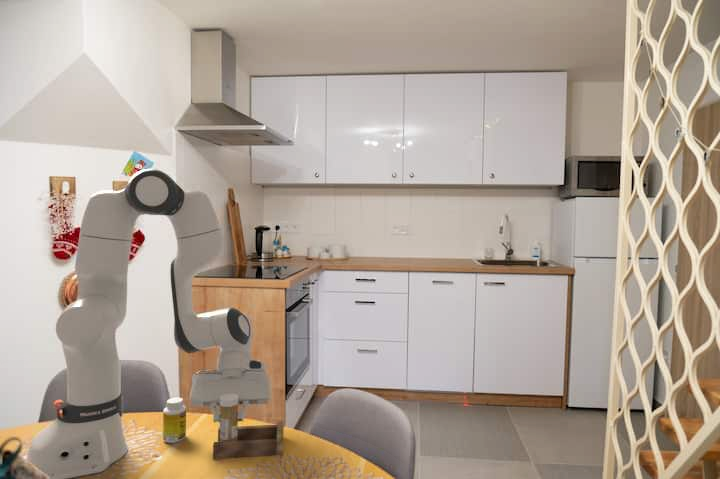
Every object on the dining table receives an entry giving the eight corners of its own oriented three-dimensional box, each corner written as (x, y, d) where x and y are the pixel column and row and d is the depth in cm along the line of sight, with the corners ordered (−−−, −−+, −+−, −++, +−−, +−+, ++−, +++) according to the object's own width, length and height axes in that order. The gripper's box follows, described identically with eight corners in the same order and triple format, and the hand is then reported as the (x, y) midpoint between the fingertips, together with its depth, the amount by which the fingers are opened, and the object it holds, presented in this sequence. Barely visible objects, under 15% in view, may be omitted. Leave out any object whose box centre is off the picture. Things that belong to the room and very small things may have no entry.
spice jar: (240, 450, 114) (241, 397, 114) (222, 455, 112) (222, 400, 111) (234, 442, 118) (235, 391, 117) (216, 447, 115) (217, 394, 115)
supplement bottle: (182, 443, 117) (182, 404, 117) (159, 444, 116) (160, 404, 116) (188, 433, 122) (188, 396, 122) (167, 434, 122) (167, 396, 122)
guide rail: (213, 459, 110) (213, 440, 109) (218, 440, 119) (219, 423, 119) (283, 455, 112) (283, 437, 112) (283, 437, 122) (283, 420, 121)
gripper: (191, 365, 119) (182, 417, 110) (271, 363, 122) (269, 414, 113) (194, 376, 124) (186, 427, 114) (271, 374, 127) (269, 423, 118)
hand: (228, 421), depth 114 cm, fingers closed on spice jar, 4 cm apart
